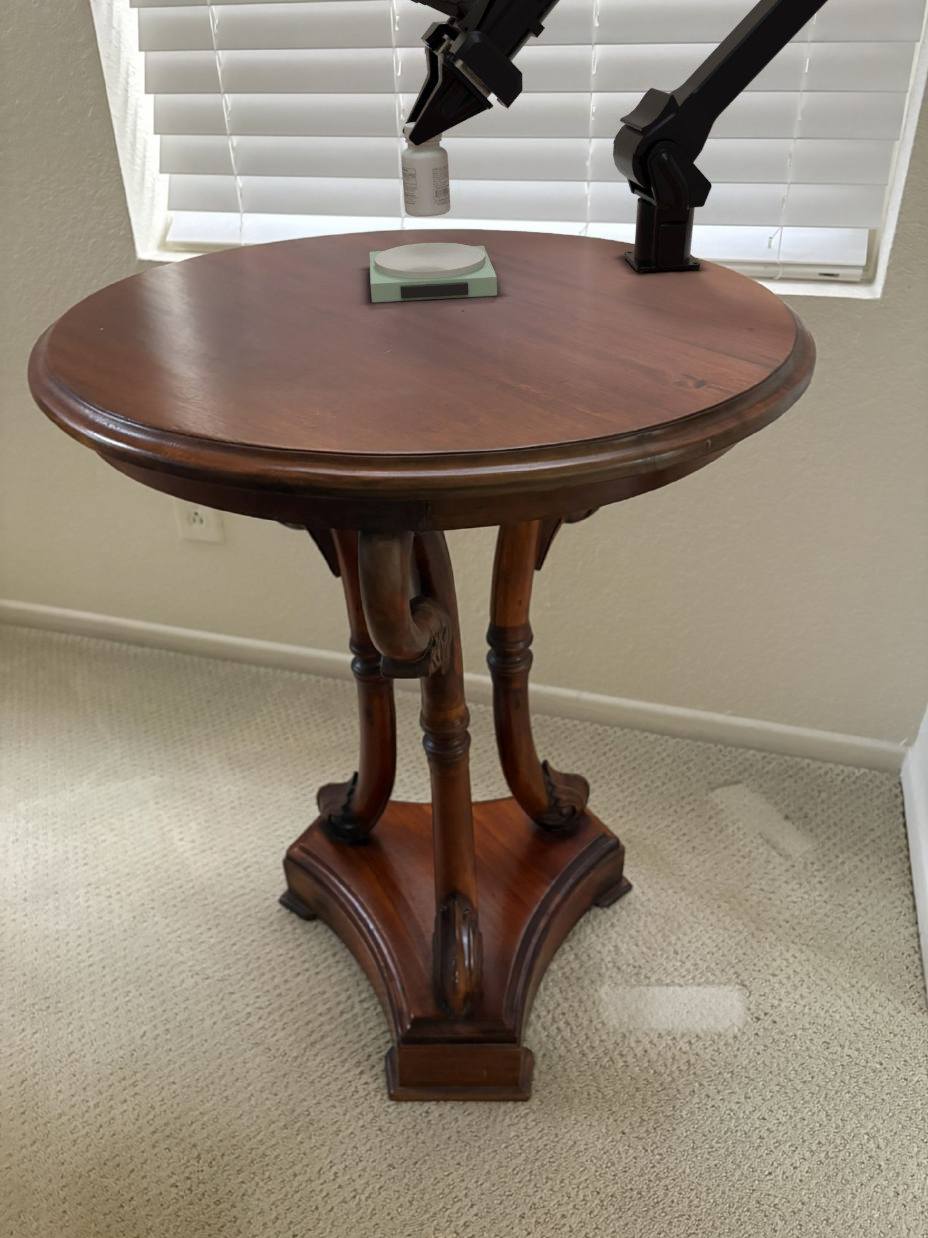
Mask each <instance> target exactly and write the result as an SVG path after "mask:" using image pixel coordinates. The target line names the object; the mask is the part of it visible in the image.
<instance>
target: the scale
mask: <svg viewBox="0 0 928 1238" xmlns="http://www.w3.org/2000/svg"><path fill="white" fill-rule="evenodd" d="M369 281H370V282H369V283H370V294H371V295H370V296H371V303H388V302H389V303H390V302H408V301H410V302H411V301H425V300H444V299H462V298H463V299H464V298H479V297H480V298H481V297H496V296H498V276H497V274H496V271H495V269H494V267H493V264H492V261H491V259H490V257H489V255H488V252H487V250H486V247H485V245H469V244H464V243H463V244H462V243H454V242H422V243H419V242H418V243H412V244H405V245H399V246H395V247H392V248H388V249H386V250H379V251H377V250H376V251H369Z"/></svg>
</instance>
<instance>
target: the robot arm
mask: <svg viewBox="0 0 928 1238" xmlns="http://www.w3.org/2000/svg"><path fill="white" fill-rule="evenodd" d="M410 1H411V2H413V3H415V4H418V3H419V4H421V5H422V6H427V7H430V8H431V9H433V10H436V11H437V12H440V13H441V14H443V15H446V16H447V17H448V18H447V20H443V21H441V20H440V21H433V22H432V23H431V24H430V25H429V27H428V28H427V30H426V31H425V32H424V33H423V34H422V36H421V37H420V40H421V41H422V43H424V44H425V46H424V55H425V63H426V77H425V79H424V81H423V84H422V86H421V88H420V90H419V92H418V95H417V97H416V99H415V102H414V104H413V106H412V108H411V110H410V112H409V115H408V117H407V119H406V121H405V123H404V125H405V124H408V123H412V122H416V123H415V125H414V127H413V128H412V130H411V132H410V134H409V140H410V141H411V142H412V143H413V144H415V145H416V146H418V145H420V144H422V143H424V142H426V141H428V140H430V139H431V138H433V137H435V136H437V135H439V134H441V133H442V134H443V133H444V132H446V131H448V130H450V129H452V128H454V127H455V126H458V125H460V124H461V123H463V122H466V121H468V120H470V119H471V118H473V117H476V116H477V115H479V114H481V113H483V112H485V111H487V110H488V111H490V110H491V109H493V108H494V104H493V103H492V102H491V101H490V100H489V99H488V98H489V97H490V96H491V95H492V94H493V95H494V96H495V97H496V101H497V102H498V104H499V105H500V106H502V107H504V108H505V109H507V110H509V108H510V107H511V105H513V103H514V102H515V101H516V99H517V98H518V97H519V96H520V95H521V93H522V92H523V72H522V71H521V70H520V69H519V68H518V67H517V66H516V64H514V62H513V60H514V59H515V58H516V57H517V55H518V54H519V53H520V52H521V50H522V49H523V47H525V45H526V44H527V43H528V41H529V40H530V39H531V38H532V37H533V38H536V39H538V38H539V36H540V35H541V34H542V33H543V31H545V29H546V27H545V26H544V25H543V23H544V21H545V20H546V19H547V17H548V16H549V15H550V14H551V13H552V11H553V10H554V9H555V8H556V6H557V5H558V4H559V2H560V1H561V0H410ZM828 1H829V0H759V1H758V2H757V3H756V5H754V6H753V8H752V9H751V10H750V11H749V12H748V13H747V14H746V15H745V16H744V17H743V19H741V20H740V22H739V23H738V24H737V25H736V26H735V27H734V28H733V29H732V31H730V32H729V34H727V36H726V37H725V38H724V39H723V40H722V41H721V42H720V43H719V45H718V46H717V47H715V49H714V50H713V51H712V52H711V53H710V54H709V55H708V56H707V58H706V59H705V60H704V61H702V63H701V64H700V65H699V66H698V67H697V69H696V70H694V72H693V73H692V74H690V76H689V77H688V78H687V79H686V80H685V81H684V82H683V84H681V85H680V86H679V87H677V88H676V89H673V90H672V91H671V92H667V91H663V90H660V89H657V88H654V87H650V88H649V89H648V90H647V91H646V93H644V95H643V97H642V98H641V99H640V100H639V102H638V103H637V105H636V106H635V108H633V109H632V110H631V112H630V113H628V114H626V115H625V116H623V117H621V118H620V119H619V122H620V123H622V124H623V125H622V126H621V128H619V130H618V132H617V133H616V135H615V137H614V139H613V146H612V149H613V150H612V157H613V158H612V159H613V162H614V165H615V167H616V169H617V171H618V173H620V174H621V175H622V176H623V177H625V178H626V180H627V184H628V187H629V190H630V193H631V194H632V195H636V196H638V198H637V203H636V219H635V234H634V247H633V248H634V249H633V250H631V251H630V250H628V251H624V258H625V259H626V260H627V261H628V262H629V264H630V265H631V266H632V267H633V269H635V271H636V272H640V273H641V272H644V273H645V272H660V271H678V270H679V271H680V270H696V269H700V268H701V262H700V261H699V260H698V259H697V258H695V256H694V255H693V254H692V253H691V251H692V241H693V230H694V229H693V228H694V218H695V208H702V207H705V204H706V202H707V200H708V198H709V195H710V193H711V191H712V183H711V181H710V180H709V179H708V178H707V177H706V176H705V175H704V173H703V172H702V171H701V170H700V169H699V168H698V166H697V165H696V164H695V162H696V160H697V159H698V157H699V156H700V155H701V153H702V151H703V150H704V147H705V145H706V143H707V140H708V138H709V136H710V134H711V131H712V129H713V126H714V124H715V122H716V121H717V119H718V118H719V117H720V115H722V113H724V111H725V110H726V109H727V108H728V107H729V106H730V105H731V104H732V103H733V102H734V101H735V99H737V97H738V96H739V95H740V94H741V93H742V92H743V91H744V90H745V89H746V88H747V87H748V86H749V85H750V84H751V83H752V82H753V81H754V79H755V78H756V77H758V76H759V74H760V73H761V72H762V71H763V70H764V69H765V68H766V67H767V66H768V65H769V63H770V62H772V60H774V58H775V57H777V55H778V54H779V53H780V52H781V51H782V50H783V49H784V48H785V47H786V46H787V45H788V44H789V43H790V41H791V40H792V39H794V37H795V36H796V35H797V34H798V33H799V32H800V31H801V30H802V29H803V28H804V27H805V26H806V25H807V23H808V22H809V21H810V20H811V19H813V17H814V16H815V15H816V14H817V13H818V12H819V11H820V10H821V8H823V6H824V5H826V3H828ZM402 134H403V135H404V136H405V134H404V127H403V128H402Z"/></svg>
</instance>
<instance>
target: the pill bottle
mask: <svg viewBox="0 0 928 1238" xmlns="http://www.w3.org/2000/svg"><path fill="white" fill-rule="evenodd" d="M415 123H416V122H412V123H408V124H405V123H404V125H403V128H404V134H405V135H404V134H403V135H404V139H405V140H404V142H405V143H406V144H407V147H406V149H404V150H403V151H402V152H401V156H400V159H401V161H400V163H401V175H402V189H403V202H404V203H403V204H404V212H405V213H406V215H408V216H411V217H414V218H415V217H416V218H429V217H437V216H443V215H446V214H447V213H449V212H450V210H451V193H450V192H451V191H450V172H449V156H448V152H447V150H446V148H444V147H443V146H441V143H440V142H442V141H443V132H442V133H441V134H439V135H437V136H435V137H433V138H431V139H430V140H428V141H426V142H424V143H422V144H420V145H418V146H416V145H415V144H413V143H412V142H411V141H410V140H409V134H410V132H411V130H412V128H413V127H414V125H415Z"/></svg>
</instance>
